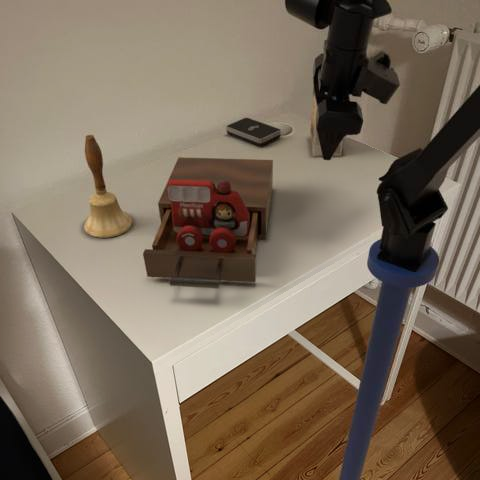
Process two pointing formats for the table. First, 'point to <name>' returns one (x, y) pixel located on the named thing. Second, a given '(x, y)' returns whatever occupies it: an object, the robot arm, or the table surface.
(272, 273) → the table surface
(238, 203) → the toy fire truck
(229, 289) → the table surface
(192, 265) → the drawer
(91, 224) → the hand bell
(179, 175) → the cabinet
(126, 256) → the table surface
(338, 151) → the coffee box
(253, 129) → the external hard drive
